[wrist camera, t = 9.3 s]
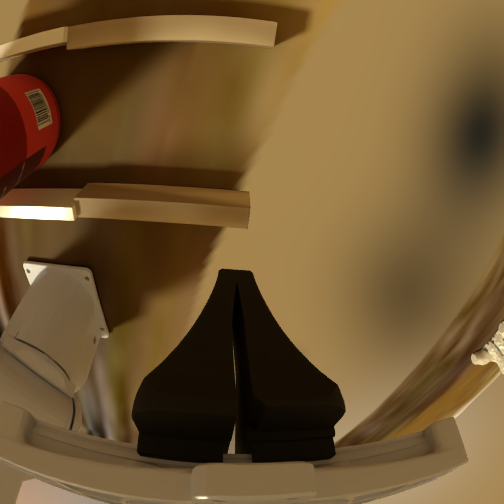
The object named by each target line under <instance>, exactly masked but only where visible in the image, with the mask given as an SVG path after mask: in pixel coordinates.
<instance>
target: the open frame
mask: <svg viewBox="0 0 504 504" xmlns="http://www.w3.org/2000/svg"><path fill="white" fill-rule="evenodd" d="M67 36H68V27H61V28H56V29H52V30H48V31H44V32H41V33H37V34H33V35H30V36H27V37H23V38H20V39H17V40H14V41H11V42H8V43H5V44H3V45H0V62H2V61H5V60H8V59H12V58H15V57H18V56H22V55H26V54H29V53H33V52H37V51H41V50H46V49H50V48H55V47H59V46H64V45H67ZM81 190H82V189H68V188H27V189H12V190H11V191H9V192H8V193H7V194H6V195H5V196H4V197H3V198H2V199H0V217H10V218H32V219H53V220H72V221H74V220H75V219H76V218H77V214H76V208H75V201H74V197H75V196H76V195H77V194H78V193H79V192H80V191H81Z"/></svg>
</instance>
